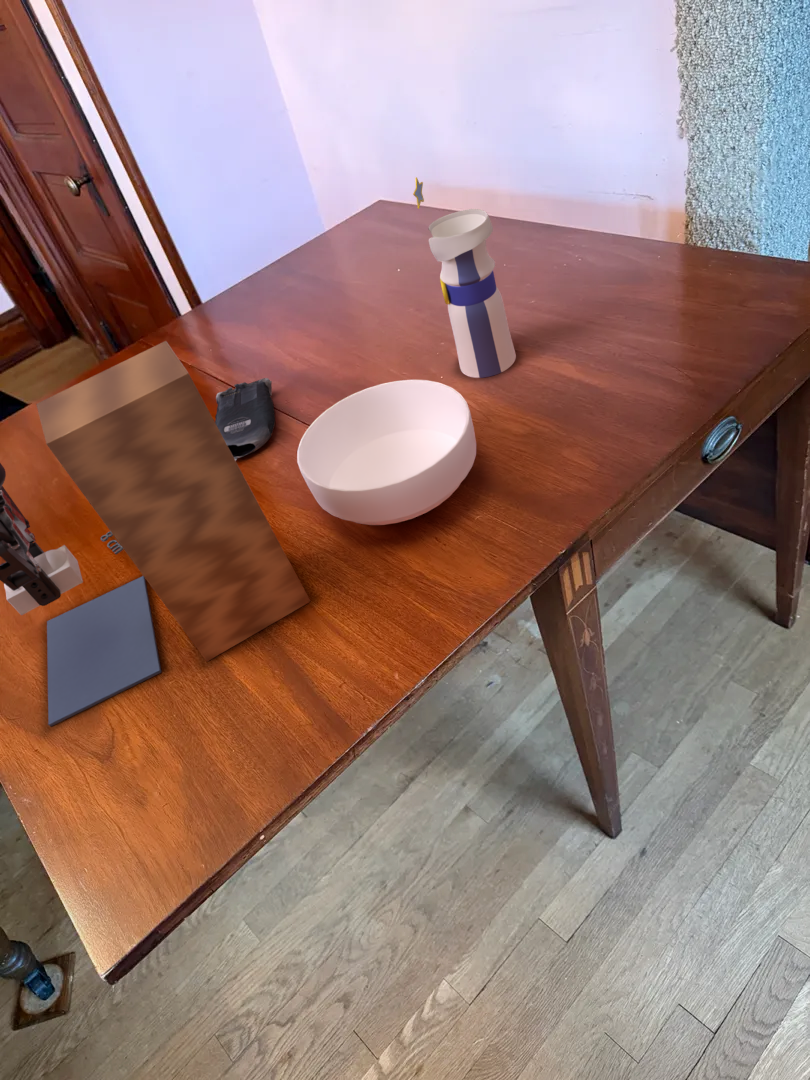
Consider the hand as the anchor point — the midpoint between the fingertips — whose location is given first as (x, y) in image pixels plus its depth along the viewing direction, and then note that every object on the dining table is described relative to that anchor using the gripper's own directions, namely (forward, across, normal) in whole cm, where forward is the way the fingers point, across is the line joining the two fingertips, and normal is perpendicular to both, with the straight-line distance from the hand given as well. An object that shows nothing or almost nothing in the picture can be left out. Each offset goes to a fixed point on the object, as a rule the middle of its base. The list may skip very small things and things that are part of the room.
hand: (48, 586), depth 75 cm
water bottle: (+10, -13, +59) cm, 61 cm away
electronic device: (+10, -27, +27) cm, 40 cm away
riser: (+10, +7, +16) cm, 20 cm away
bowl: (+10, +2, +38) cm, 39 cm away
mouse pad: (+10, 0, 0) cm, 10 cm away
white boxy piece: (0, 0, 0) cm, 0 cm away
